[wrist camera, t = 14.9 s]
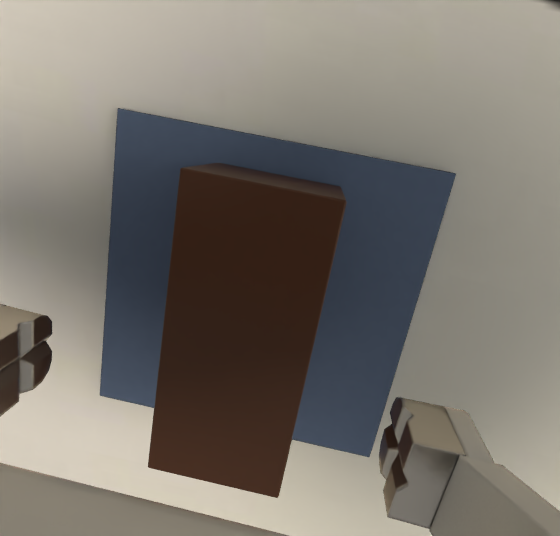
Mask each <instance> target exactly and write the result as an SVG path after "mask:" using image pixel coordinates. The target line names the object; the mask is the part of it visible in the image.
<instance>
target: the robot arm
mask: <svg viewBox="0 0 560 536" xmlns="http://www.w3.org/2000/svg"><path fill="white" fill-rule="evenodd" d="M51 335H52V321H51V320H50V318H49V317H48V316H46V315H42V314H38V313H34V312H30V311H26V310H22V309H18V308H14V307H10V306H6V305H3V304H0V416H2V415H3V414H4V413H5V412H6V411H8V410H9V409H10V408H11V407H13V406H14V405H15V404H16V403H17V402H19V394H20V393H24V392H27V391H30V390H33V389H34V388H35V387H37V386H38V385H39V384H40V383H41V382H42V381H43V379H44V378H45V376H46V374H47V373H48V371H49V368H50V364H51V361H52V350H51V349H50V347H49V345H48V344H47V342H46V340H47V339H48V338H49V337H50V336H51ZM390 415H391V420H392V424H391V425H390V426H388V427H387V428H386V429H384V433H383V436H382V440H381V445H380V452H379V466H380V473H381V474H382V476H383V477H384V478H385V479H386V483H385V486H384V489H383V493H384V499H385V505H386V511H387V517H389V518H392V519H396V520H400V521H403V522H407V523H411V524H414V525H418V526H421V527H425V528H429V529H430V532H431V534H432V535H433V536H560V511H559V510H557V509H556V508H555V507H554V506H552V505H551V504H550V503H549V502H547V501H546V500H545V499H544V498H542V497H541V496H540V495H539V494H537V493H536V492H535V491H534V490H532V489H531V488H530V487H529V486H528V485H526V484H525V483H524V482H523V481H521V480H520V479H519V478H518V477H516V476H515V475H514V474H513V473H511V472H510V471H509V470H508V469H506V468H505V467H504V466H503V465H500V464H496V463H494V461H493V459H492V457H491V455H490V453H489V452H488V450H487V448H486V446H485V444H484V442H483V440H482V438H481V436H480V434H479V432H478V430H477V429H476V427H475V425H474V423H473V421H472V419H471V417H470V415H469V414H468V413H467V412H466V411H464V410H459V409H454V408H449V407H444V406H439V405H434V404H429V403H424V402H419V401H414V400H409V399H404V398H399V397H396V399H395V401H394V402H393V405H392V408H391V411H390ZM0 536H288V535H284V534H280V533H276V532H272V531H268V530H264V529H261V528H257V527H253V526H249V525H245V524H241V523H237V522H233V521H229V520H225V519H221V518H217V517H213V516H209V515H205V514H201V513H197V512H193V511H189V510H185V509H181V508H177V507H173V506H169V505H165V504H161V503H157V502H153V501H149V500H146V499H142V498H138V497H134V496H130V495H126V494H122V493H118V492H114V491H110V490H106V489H102V488H98V487H94V486H90V485H86V484H82V483H78V482H74V481H70V480H66V479H62V478H59V477H55V476H51V475H47V474H43V473H39V472H35V471H31V470H27V469H23V468H19V467H15V466H11V465H7V464H3V463H0Z"/></svg>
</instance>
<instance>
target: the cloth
mask: <svg viewBox="0 0 560 536" xmlns="http://www.w3.org/2000/svg"><path fill="white" fill-rule="evenodd" d="M212 163H223V164H228V165H233V166H238V167H244V168H249V169H254V170H259V171H264V172H269V173H274V174H279V175H284V176H289V177H294V178H299V179H305V180H310V181H315V182H320V183H325V184H330V185H335V186H340V187H341V189H342V191H343V194H344V196H345V199H346V202H347V203H346V208H345V212H344V216H343V221H342V225H341V229H340V234H339V238H338V242H337V247H336V251H335V255H334V259H333V264H332V268H331V272H330V277H329V281H328V285H327V290H326V294H325V298H324V303H323V307H322V311H321V316H320V320H319V324H318V329H317V333H316V337H315V342H314V346H313V350H312V354H311V359H310V363H309V367H308V372H307V376H306V380H305V385H304V389H303V393H302V398H301V402H300V406H299V411H298V415H297V419H296V424H295V428H294V432H293V436H292V440H297V441H301V442H305V443H310V444H314V445H318V446H323V447H327V448H331V449H336V450H340V451H345V452H349V453H353V454H358V455H362V456H366V457H370V454H371V450H372V447H373V444H374V441H375V437H376V434H377V431H378V427H379V424H380V421H381V418H382V414H383V411H384V408H385V405H386V401H387V398H388V395H389V391H390V388H391V385H392V382H393V378H394V375H395V372H396V369H397V365H398V362H399V359H400V355H401V352H402V349H403V346H404V342H405V339H406V336H407V333H408V329H409V326H410V323H411V319H412V316H413V313H414V310H415V306H416V303H417V300H418V297H419V293H420V290H421V287H422V283H423V280H424V277H425V274H426V270H427V267H428V264H429V261H430V257H431V254H432V251H433V247H434V244H435V241H436V238H437V234H438V231H439V228H440V225H441V221H442V218H443V215H444V211H445V208H446V205H447V202H448V198H449V195H450V192H451V189H452V185H453V182H454V179H455V175H456V174H455V173H451V172H445V171H440V170H435V169H430V168H425V167H420V166H414V165H409V164H404V163H399V162H394V161H389V160H383V159H378V158H373V157H368V156H363V155H358V154H352V153H347V152H342V151H337V150H332V149H327V148H321V147H316V146H311V145H306V144H301V143H295V142H290V141H285V140H280V139H275V138H270V137H264V136H259V135H254V134H249V133H244V132H239V131H233V130H228V129H223V128H218V127H213V126H208V125H202V124H197V123H192V122H187V121H182V120H177V119H171V118H166V117H161V116H156V115H151V114H146V113H140V112H135V111H130V110H125V109H120V108H118V112H117V128H116V144H115V160H114V176H113V192H112V208H111V224H110V240H109V256H108V272H107V289H106V305H105V321H104V337H103V353H102V369H101V385H100V396H104V397H109V398H113V399H117V400H122V401H126V402H130V403H135V404H139V405H144V406H148V407H152V408H154V406H155V397H156V388H157V379H158V369H159V360H160V351H161V342H162V332H163V323H164V314H165V305H166V296H167V286H168V277H169V268H170V259H171V249H172V240H173V231H174V222H175V213H176V203H177V194H178V185H179V176H180V169H181V168H183V167H191V166H198V165H205V164H212Z"/></svg>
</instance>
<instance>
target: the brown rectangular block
mask: <svg viewBox="0 0 560 536" xmlns="http://www.w3.org/2000/svg"><path fill="white" fill-rule="evenodd" d="M346 203H347V202H346V199H345V196H344V194H343V191H342V189H341V187H340V186H335V185H330V184H325V183H320V182H315V181H310V180H305V179H299V178H294V177H289V176H284V175H279V174H274V173H269V172H264V171H259V170H254V169H249V168H244V167H238V166H233V165H228V164H223V163H212V164H205V165H198V166H191V167H183V168H181V169H180V176H179V185H178V194H177V203H176V213H175V222H174V231H173V240H172V249H171V259H170V268H169V277H168V286H167V296H166V305H165V314H164V323H163V332H162V342H161V351H160V360H159V369H158V379H157V388H156V397H155V406H154V415H153V425H152V434H151V443H150V452H149V462H148V467H149V468H153V469H157V470H161V471H165V472H170V473H174V474H178V475H182V476H187V477H191V478H195V479H199V480H204V481H208V482H212V483H216V484H220V485H225V486H229V487H233V488H237V489H242V490H246V491H250V492H254V493H259V494H263V495H267V496H271V497H276V498H278V496H279V493H280V488H281V484H282V480H283V475H284V471H285V467H286V462H287V458H288V454H289V449H290V445H291V441H292V436H293V432H294V428H295V424H296V419H297V415H298V411H299V406H300V402H301V398H302V393H303V389H304V385H305V380H306V376H307V372H308V367H309V363H310V359H311V354H312V350H313V346H314V342H315V337H316V333H317V329H318V324H319V320H320V316H321V311H322V307H323V303H324V298H325V294H326V290H327V285H328V281H329V277H330V272H331V268H332V264H333V259H334V255H335V251H336V247H337V242H338V238H339V234H340V229H341V225H342V221H343V216H344V212H345V208H346Z"/></svg>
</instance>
